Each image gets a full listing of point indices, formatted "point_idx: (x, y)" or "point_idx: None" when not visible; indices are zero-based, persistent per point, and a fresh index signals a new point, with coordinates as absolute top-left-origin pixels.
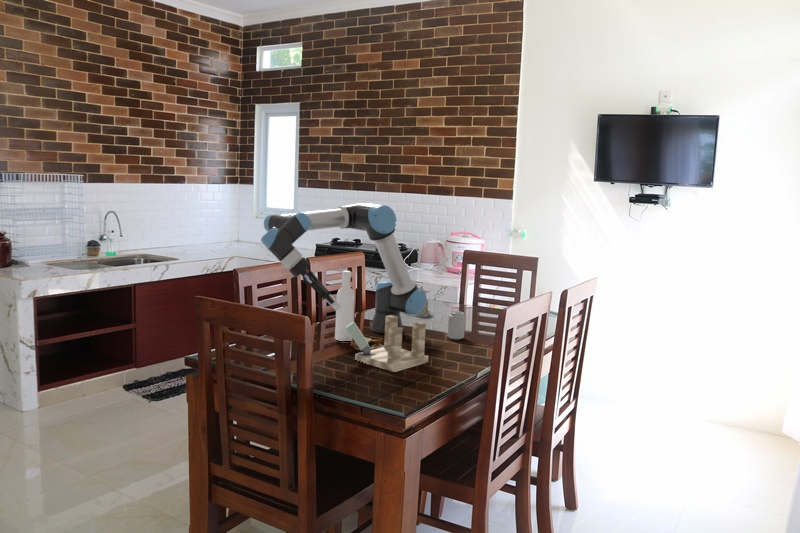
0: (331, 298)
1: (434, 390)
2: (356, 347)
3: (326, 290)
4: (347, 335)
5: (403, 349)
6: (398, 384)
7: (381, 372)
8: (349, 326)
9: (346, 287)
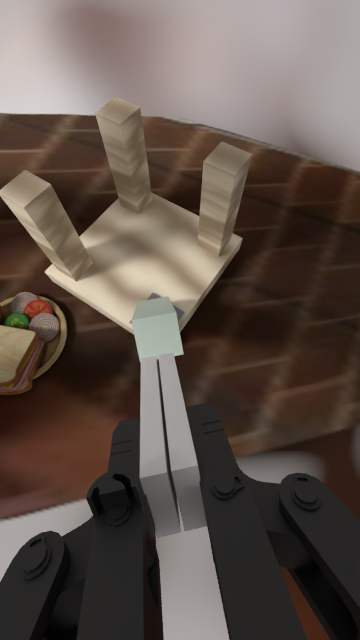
0: (197, 436)
1: (329, 175)
2: (38, 370)
3: (144, 555)
4: None
5: (82, 235)
6: (325, 232)
7: (252, 274)
8: (179, 337)
9: None
